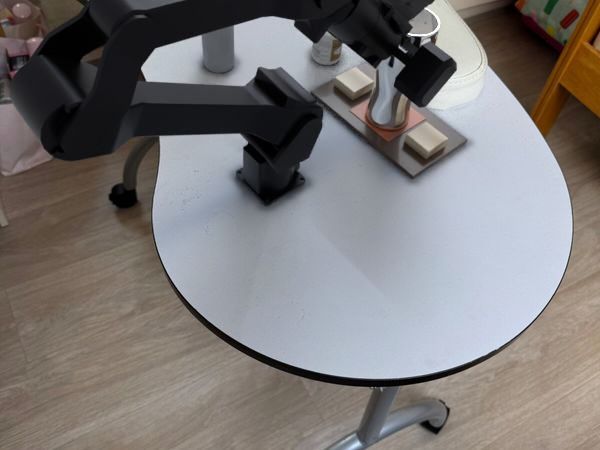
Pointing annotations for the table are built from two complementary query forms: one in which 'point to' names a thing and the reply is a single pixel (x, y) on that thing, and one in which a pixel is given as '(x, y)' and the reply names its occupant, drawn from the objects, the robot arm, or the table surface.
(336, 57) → the pill bottle
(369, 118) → the silver metal cup
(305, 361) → the table surface
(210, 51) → the light grey cylinder
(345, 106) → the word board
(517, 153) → the table surface
